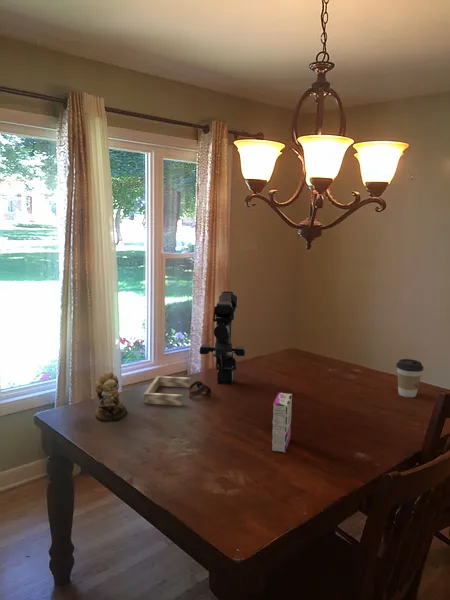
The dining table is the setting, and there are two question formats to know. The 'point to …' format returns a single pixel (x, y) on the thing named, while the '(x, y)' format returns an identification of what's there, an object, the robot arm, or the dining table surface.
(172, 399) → the birch bracket
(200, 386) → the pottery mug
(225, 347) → the robot arm
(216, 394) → the dining table surface
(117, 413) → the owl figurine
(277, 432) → the candy bar box
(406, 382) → the coffee cup
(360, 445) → the dining table surface
